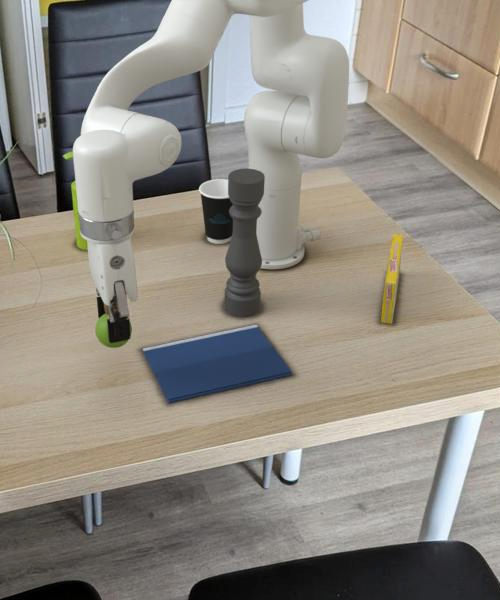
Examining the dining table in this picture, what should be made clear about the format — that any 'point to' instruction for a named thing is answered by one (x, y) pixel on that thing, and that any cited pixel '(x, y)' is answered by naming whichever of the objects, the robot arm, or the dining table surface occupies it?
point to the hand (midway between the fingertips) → (114, 327)
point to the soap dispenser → (76, 211)
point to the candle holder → (244, 243)
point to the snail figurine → (103, 329)
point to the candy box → (392, 279)
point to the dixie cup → (216, 210)
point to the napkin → (214, 363)
